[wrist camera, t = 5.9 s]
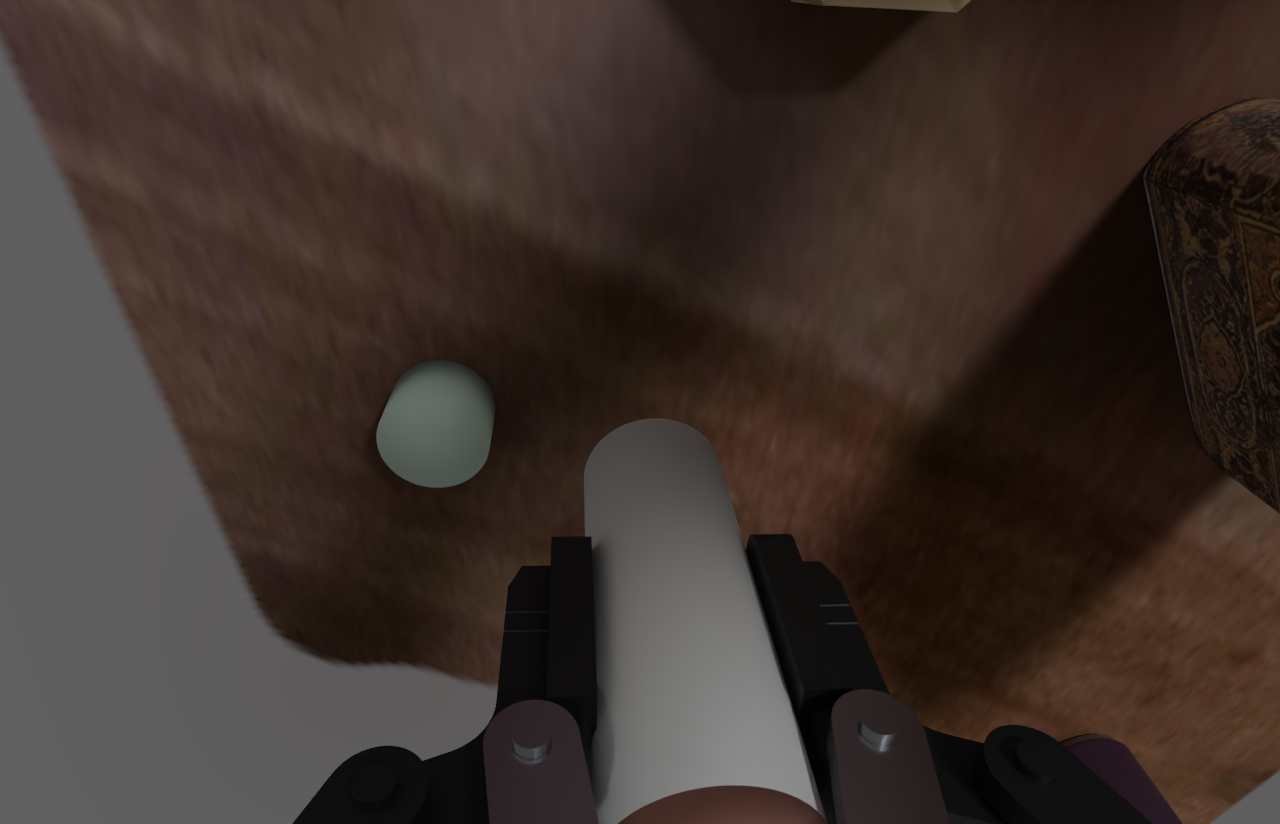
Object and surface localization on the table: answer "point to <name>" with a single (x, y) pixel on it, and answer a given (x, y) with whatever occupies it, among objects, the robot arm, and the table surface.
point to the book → (1226, 281)
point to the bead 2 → (895, 4)
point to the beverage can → (1122, 775)
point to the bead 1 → (437, 424)
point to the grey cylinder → (683, 646)
